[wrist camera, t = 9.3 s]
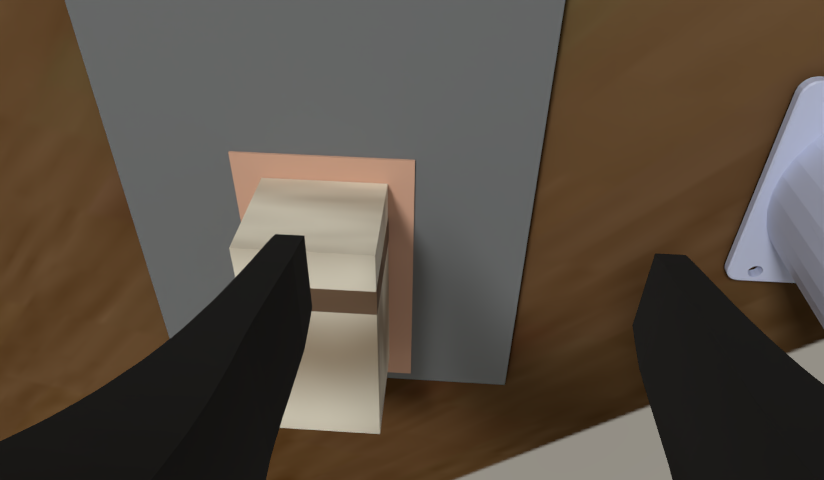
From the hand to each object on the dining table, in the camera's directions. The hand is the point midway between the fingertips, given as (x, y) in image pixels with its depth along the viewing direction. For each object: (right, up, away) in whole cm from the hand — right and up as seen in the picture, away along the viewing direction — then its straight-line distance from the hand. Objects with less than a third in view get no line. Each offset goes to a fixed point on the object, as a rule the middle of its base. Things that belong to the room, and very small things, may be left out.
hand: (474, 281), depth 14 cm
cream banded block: (-5, -1, +12) cm, 13 cm away
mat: (-4, +4, +9) cm, 11 cm away
